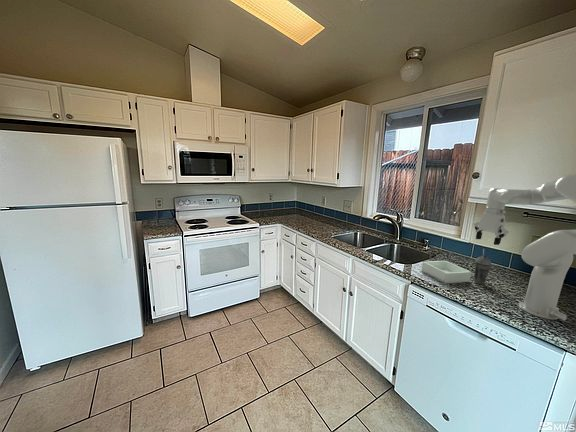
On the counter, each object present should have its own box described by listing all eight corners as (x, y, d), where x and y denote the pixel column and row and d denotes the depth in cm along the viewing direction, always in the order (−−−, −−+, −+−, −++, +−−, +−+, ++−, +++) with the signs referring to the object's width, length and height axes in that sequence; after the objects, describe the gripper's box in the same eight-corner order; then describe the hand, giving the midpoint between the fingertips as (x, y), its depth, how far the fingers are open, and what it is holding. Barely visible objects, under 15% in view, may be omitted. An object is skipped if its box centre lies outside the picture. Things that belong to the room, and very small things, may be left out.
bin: (469, 281, 133) (471, 271, 132) (445, 283, 129) (446, 273, 128) (443, 269, 149) (445, 260, 148) (421, 270, 146) (423, 261, 144)
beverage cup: (490, 286, 129) (498, 251, 125) (475, 284, 130) (482, 250, 126) (482, 280, 136) (489, 247, 132) (468, 278, 137) (475, 246, 133)
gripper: (518, 214, 118) (509, 246, 121) (483, 208, 134) (476, 237, 138) (506, 214, 116) (498, 247, 120) (472, 208, 133) (466, 237, 136)
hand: (487, 241), depth 129 cm, fingers open, 9 cm apart
